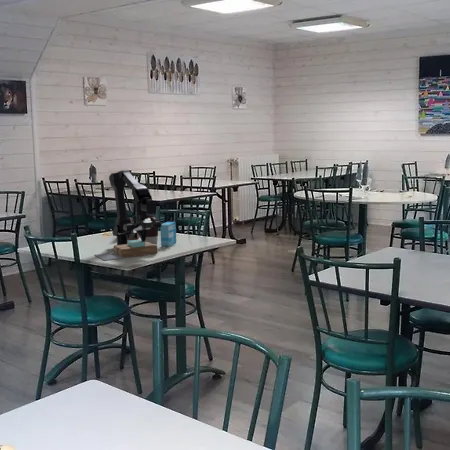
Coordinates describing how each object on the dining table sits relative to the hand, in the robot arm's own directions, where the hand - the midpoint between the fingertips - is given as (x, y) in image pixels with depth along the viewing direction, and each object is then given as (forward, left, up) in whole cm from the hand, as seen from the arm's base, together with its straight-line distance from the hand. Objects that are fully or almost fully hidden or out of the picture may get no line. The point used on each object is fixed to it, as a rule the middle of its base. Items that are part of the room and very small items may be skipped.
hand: (143, 242), depth 306 cm
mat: (0, -18, -5) cm, 19 cm away
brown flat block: (0, -4, -5) cm, 7 cm away
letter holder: (-48, +11, -5) cm, 50 cm away
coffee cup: (-22, +13, -5) cm, 26 cm away
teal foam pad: (0, -4, -1) cm, 4 cm away
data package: (-11, +19, -5) cm, 22 cm away
